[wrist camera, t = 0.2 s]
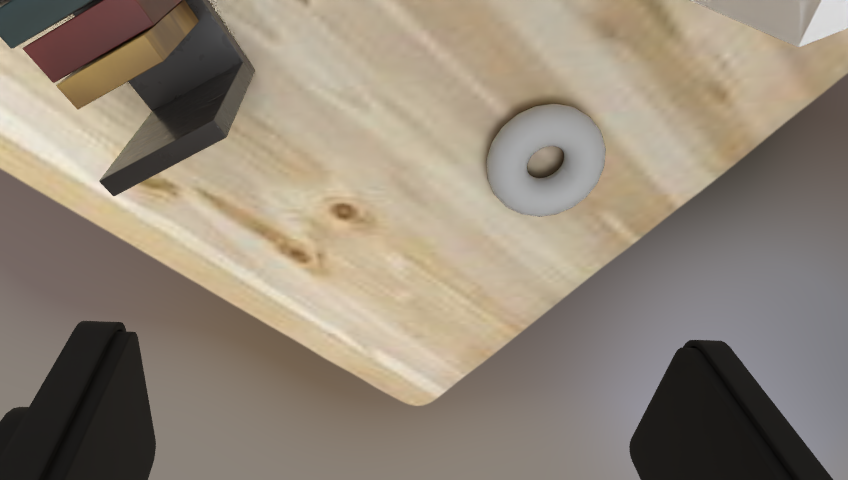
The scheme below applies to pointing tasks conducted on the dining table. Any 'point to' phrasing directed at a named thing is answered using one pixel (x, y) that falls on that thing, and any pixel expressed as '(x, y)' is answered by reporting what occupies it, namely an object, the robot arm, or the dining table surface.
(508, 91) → the dining table surface
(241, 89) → the book rack
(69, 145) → the dining table surface
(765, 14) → the milk
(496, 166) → the donut
